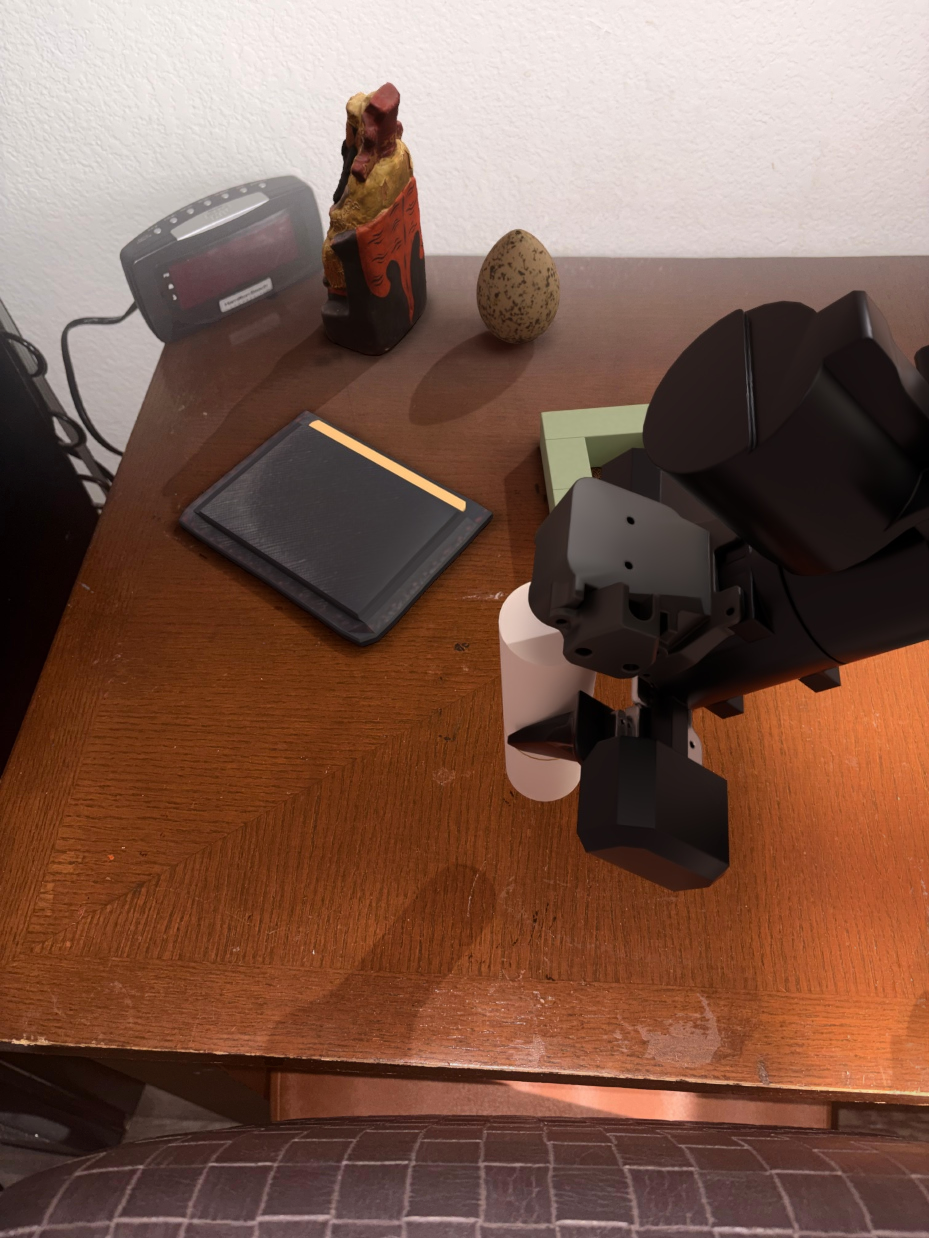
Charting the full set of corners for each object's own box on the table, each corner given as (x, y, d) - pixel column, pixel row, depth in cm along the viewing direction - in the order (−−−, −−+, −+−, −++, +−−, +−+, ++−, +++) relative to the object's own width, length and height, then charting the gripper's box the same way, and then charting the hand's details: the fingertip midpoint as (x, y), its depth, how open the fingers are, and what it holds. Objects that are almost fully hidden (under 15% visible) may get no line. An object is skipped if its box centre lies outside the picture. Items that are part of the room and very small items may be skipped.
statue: (374, 275, 81) (337, 45, 65) (444, 299, 79) (426, 66, 62) (299, 351, 76) (238, 120, 59) (372, 379, 74) (330, 147, 57)
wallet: (166, 507, 64) (307, 394, 70) (175, 522, 66) (312, 411, 72) (357, 644, 57) (497, 505, 63) (362, 658, 58) (498, 521, 64)
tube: (545, 817, 46) (552, 686, 33) (490, 764, 48) (477, 621, 35) (598, 765, 47) (625, 620, 35) (542, 716, 49) (548, 561, 36)
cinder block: (539, 444, 68) (540, 411, 65) (774, 425, 68) (786, 392, 65) (555, 552, 62) (557, 522, 59) (813, 532, 62) (827, 501, 59)
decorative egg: (472, 359, 74) (467, 257, 66) (484, 307, 78) (480, 204, 70) (553, 364, 73) (558, 261, 65) (561, 311, 77) (567, 208, 69)
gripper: (683, 283, 31) (422, 470, 42) (683, 743, 22) (343, 834, 32) (839, 446, 37) (574, 574, 48) (896, 870, 27) (546, 912, 38)
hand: (518, 700), depth 41 cm, fingers closed on tube, 4 cm apart
